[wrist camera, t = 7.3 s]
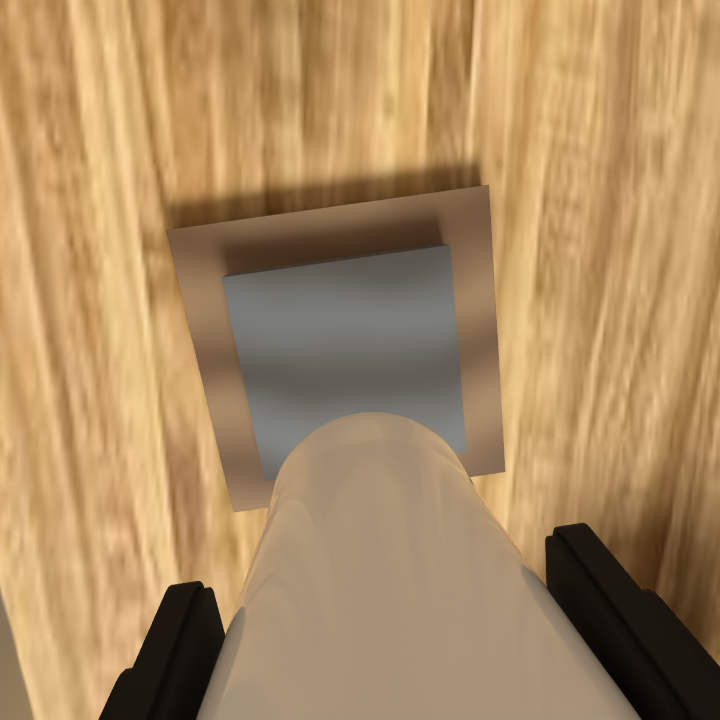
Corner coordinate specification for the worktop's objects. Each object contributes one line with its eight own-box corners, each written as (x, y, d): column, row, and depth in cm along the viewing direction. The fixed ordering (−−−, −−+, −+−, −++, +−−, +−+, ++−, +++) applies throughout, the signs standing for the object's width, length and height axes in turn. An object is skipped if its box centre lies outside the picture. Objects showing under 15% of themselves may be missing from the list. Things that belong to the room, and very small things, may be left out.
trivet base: (173, 229, 26) (156, 230, 23) (481, 186, 26) (498, 182, 23) (237, 501, 30) (228, 528, 27) (498, 462, 30) (514, 484, 28)
